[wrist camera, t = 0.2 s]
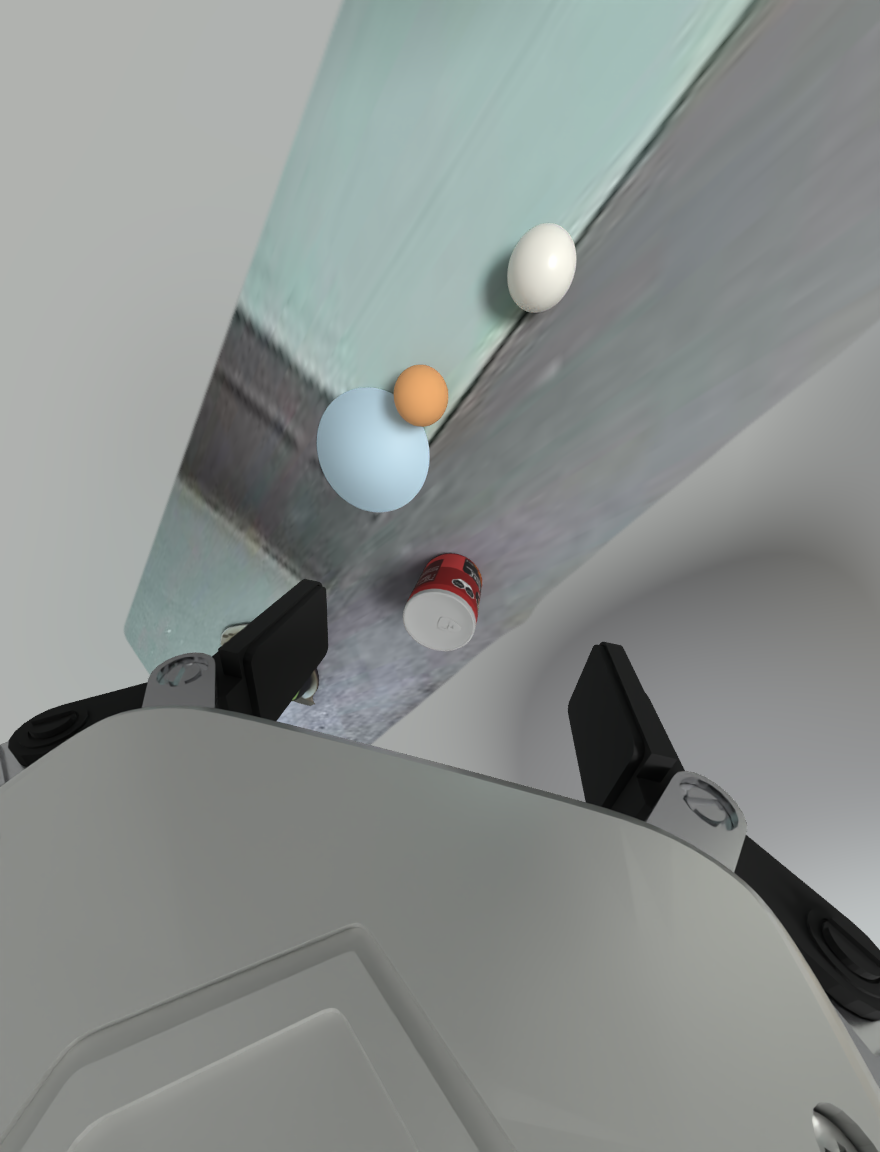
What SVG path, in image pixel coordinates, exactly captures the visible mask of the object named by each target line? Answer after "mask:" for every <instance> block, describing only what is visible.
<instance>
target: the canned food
mask: <svg viewBox="0 0 880 1152" xmlns="http://www.w3.org/2000/svg"><path fill="white" fill-rule="evenodd" d="M481 588H482V577H481V574H480V572H479V570H478V568H477V567H476V565H475V564H474V563H473V562H472V561H471V560H470V559H468V558H466V557H464V556H462V555H459V554H450V553H449V554H443V555H440V556H438V557H436V558H434V559H432V560H431V561H430V562H429V563H428V564H427V566H426V568H425V569H424V571H423V573H422V575H421V577H420V579H419V580H418V582H417V584H416V586H415V588H414V590H413V592H412V593H411V595H410V597H409V599H408V601H407V603H406V606H405V608H404V612H403V622H404V625H405V628H406V630H407V632H408V633H409V635H410V636H411V637H412V638H413V639H414V640H415V641H416V642H418V643H419V644H421V645H423V646H424V647H427V648H429V649H433V650H437V651H451V650H455V649H458V648H461V647H463V646H464V645H465V644H467V643H468V642H469V641H470V639H471V638H472V636H473V634H474V631H475V628H476V622H477V617H478V610H479V602H480V595H481Z"/></svg>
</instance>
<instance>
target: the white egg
mask: <svg viewBox="0 0 880 1152" xmlns="http://www.w3.org/2000/svg"><path fill="white" fill-rule="evenodd" d="M575 269H576V250H575V245H574V242H573V240H572V238H571V236H570V235H569V233H568V232H567V231H566V230H565V229H564V228H563V227H561V226H559V225H557V224H553V223H544V224H540V225H537V226H535V227H533V228H532V229H530V230H529V231H528V232H526V233H525V234H524V235H523V236H522V237H521V239H520V240H519V241H518V243H517V245H516V246H515V248H514V250H513V252H512V255H511V257H510V261H509V265H508V272H507V281H508V288H509V292H510V294H511V297H512V299H513V300H514V302H515V303H516V304H517V305H518V306H519V307H520V308H521V309H523V310H525V311H527V312H531V313H538V312H543V311H546V310H548V309H550V308H552V307H553V306H555V305H556V304H557V303H558V302H559V301H560V300H561V299H562V298H563V297H564V295H565V294H566V292H567V291H568V289H569V287H570V285H571V283H572V280H573V277H574V274H575Z"/></svg>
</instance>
